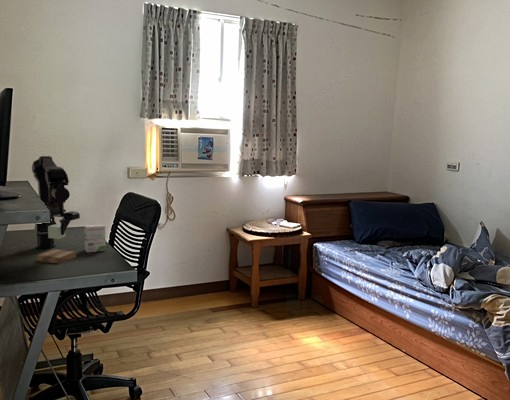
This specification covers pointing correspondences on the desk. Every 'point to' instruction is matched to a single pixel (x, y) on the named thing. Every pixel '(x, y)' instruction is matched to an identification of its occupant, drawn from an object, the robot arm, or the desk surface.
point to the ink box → (95, 238)
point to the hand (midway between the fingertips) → (57, 234)
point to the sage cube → (55, 232)
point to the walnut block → (56, 256)
